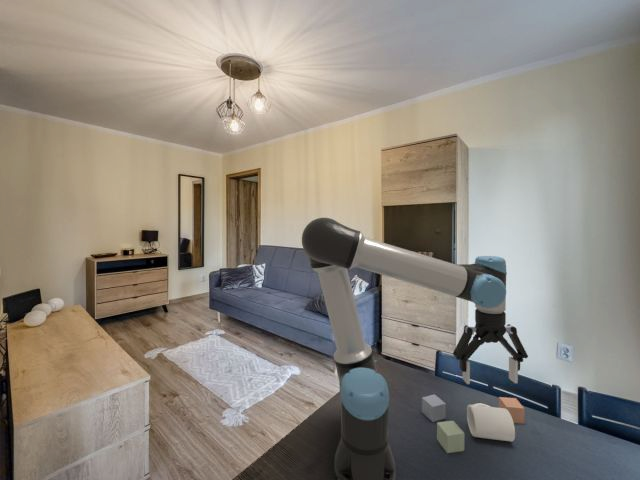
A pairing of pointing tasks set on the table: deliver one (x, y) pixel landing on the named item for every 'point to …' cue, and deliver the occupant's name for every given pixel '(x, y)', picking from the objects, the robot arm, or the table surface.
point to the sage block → (450, 436)
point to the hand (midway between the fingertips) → (489, 381)
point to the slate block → (433, 408)
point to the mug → (490, 422)
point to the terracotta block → (513, 408)
